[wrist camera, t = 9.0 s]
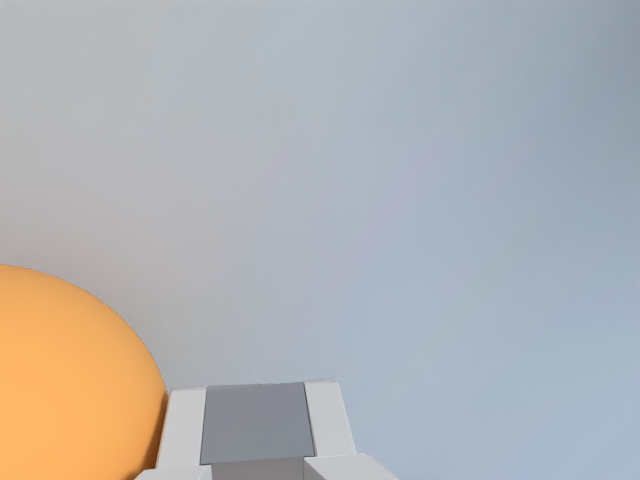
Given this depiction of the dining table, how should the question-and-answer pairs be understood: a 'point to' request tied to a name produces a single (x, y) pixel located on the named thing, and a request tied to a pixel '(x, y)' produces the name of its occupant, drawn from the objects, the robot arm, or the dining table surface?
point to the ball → (73, 385)
